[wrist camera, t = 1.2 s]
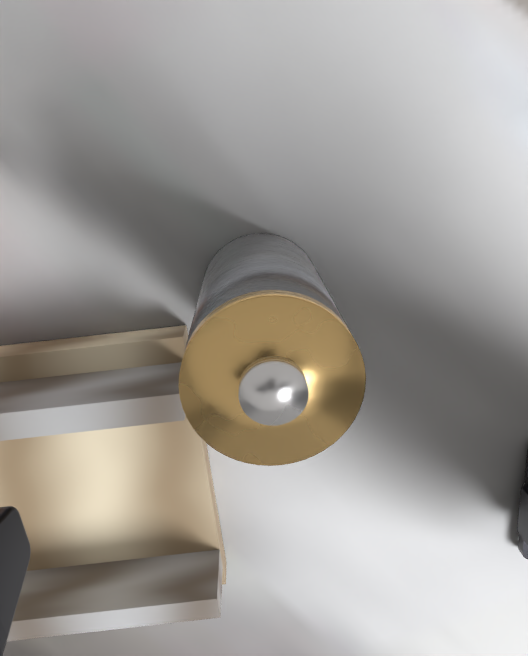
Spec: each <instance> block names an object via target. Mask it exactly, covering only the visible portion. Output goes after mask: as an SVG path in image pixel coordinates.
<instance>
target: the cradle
mask: <svg viewBox="0 0 528 656" xmlns="http://www.w3.org/2000/svg"><path fill="white" fill-rule="evenodd" d="M187 340H188V332H187V327H186V325H183V326H174V327H165V328H156V329H147V330H138V331H129V332H120V333H111V334H102V335H93V336H84V337H75V338H66V339H57V340H48V341H39V342H30V343H21V344H12V345H3V346H0V507H6V506H13V507H15V508H16V509H17V510H18V511H19V514H20V516H21V519H22V522H23V525H24V528H25V531H26V534H27V537H28V539H29V542H30V548H31V554H30V560H29V564H28V568H27V571H26V575H25V578H24V582H23V586H22V589H21V593H20V596H19V600H18V603H17V607H16V610H15V614H14V618H13V621H12V625H11V628H10V632H9V635H8V639H7V641H15V640H23V639H32V638H41V637H50V636H59V635H68V634H77V633H86V632H95V631H104V630H113V629H122V628H131V627H140V626H149V625H158V624H167V623H175V622H184V621H193V620H202V619H211V618H220V617H221V594H222V584H226V558H225V552H224V546H223V540H222V534H221V528H220V522H219V516H218V510H217V504H216V498H215V492H214V486H213V481H212V475H211V469H210V463H209V457H208V451H207V445H206V442H205V441H204V440H203V439H202V438H201V437H200V436H199V435H198V434H197V433H196V431H195V430H194V429H193V428H192V426H191V424H190V423H189V421H188V419H187V418H186V415H185V413H184V410H183V408H182V404H181V400H180V395H179V373H180V367H181V363H182V359H183V355H184V351H185V348H186V344H187Z"/></svg>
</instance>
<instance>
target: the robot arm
mask: <svg viewBox="0 0 528 656" xmlns="http://www.w3.org/2000/svg"><path fill="white" fill-rule="evenodd" d="M517 530H518V533H519V542H518V548H519V550H520V552H521V553H522V555H523V556H524V557H525V558H526V559H528V451H527V461H526V471H525V482H524V484H523V486H522V488H521V496H520V506H519V517H518V527H517ZM30 554H31V548H30V542H29V539H28V537H27V534H26V531H25V528H24V525H23V522H22V519H21V516H20V514H19V511H18V510H17V509H16V508H15V507H13V506H6V507H0V656H2V655H3V652H4V648H5V645H6V642H7V639H8V635H9V632H10V628H11V625H12V621H13V618H14V614H15V610H16V607H17V603H18V600H19V596H20V593H21V589H22V586H23V582H24V578H25V575H26V571H27V568H28V564H29V560H30Z"/></svg>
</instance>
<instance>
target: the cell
mask: <svg viewBox="0 0 528 656" xmlns="http://www.w3.org/2000/svg"><path fill="white" fill-rule="evenodd" d="M365 384H366V374H365V366H364V362H363V358H362V354H361V352H360V350H359V347H358V345H357V343H356V341H355V340H354V338H353V336H352V334H351V332H350V330H349V329H348V327H347V325H346V323H345V321H344V320H343V318H342V316H341V314H340V312H339V311H338V309H337V307H336V305H335V303H334V302H333V300H332V298H331V296H330V294H329V292H328V291H327V289H326V287H325V285H324V283H323V282H322V280H321V278H320V276H319V274H318V273H317V271H316V269H315V267H314V265H313V264H312V262H311V260H310V259H309V257H308V256H307V255H306V253H305V252H304V251H303V250H302V249H301V248H300V247H298V246H297V245H296V244H294V243H293V242H291V241H289V240H287V239H285V238H283V237H280V236H277V235H272V234H263V233H261V234H251V235H246V236H243V237H239V238H237V239H235V240H233V241H231V242H230V243H228V244H227V245H225V246H224V247H223V248H222V249H220V250H219V251H218V253H217V254H216V255H215V256H214V257H213V259H212V260H211V262H210V264H209V266H208V268H207V270H206V273H205V276H204V279H203V283H202V287H201V291H200V295H199V298H198V302H197V306H196V310H195V313H194V317H193V321H192V325H191V329H190V332H189V336H188V340H187V344H186V348H185V351H184V355H183V359H182V363H181V367H180V373H179V395H180V400H181V404H182V408H183V410H184V413H185V415H186V418H187V419H188V421H189V423H190V424H191V426H192V428H193V429H194V430H195V431H196V433H197V434H198V435H199V436H200V437H201V438H202V439H203V440H204V441H205V442H206V443H207V444H208V445H210V446H211V447H212V448H214V449H215V450H217V451H218V452H220V453H222V454H224V455H226V456H228V457H230V458H233V459H235V460H238V461H242V462H245V463H250V464H256V465H268V466H271V465H284V464H290V463H294V462H298V461H301V460H305V459H307V458H309V457H312V456H314V455H316V454H318V453H320V452H322V451H324V450H325V449H326V448H328V447H329V446H331V445H332V444H334V443H335V442H336V441H337V440H338V439H339V438H340V437H341V436H342V435H343V434H344V433H345V432H346V431H347V429H348V428H349V427H350V425H351V424H352V422H353V421H354V419H355V418H356V416H357V414H358V412H359V410H360V407H361V404H362V401H363V398H364V392H365Z"/></svg>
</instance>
